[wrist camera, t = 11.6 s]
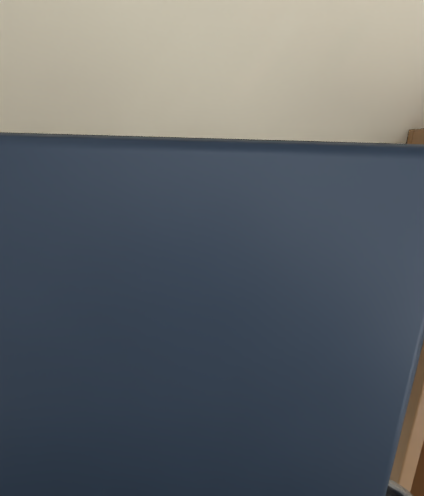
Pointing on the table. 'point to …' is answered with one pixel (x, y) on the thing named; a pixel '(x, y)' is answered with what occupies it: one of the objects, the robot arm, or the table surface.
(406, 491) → the robot arm
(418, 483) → the storage box
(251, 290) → the plastic case
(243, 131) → the table surface
